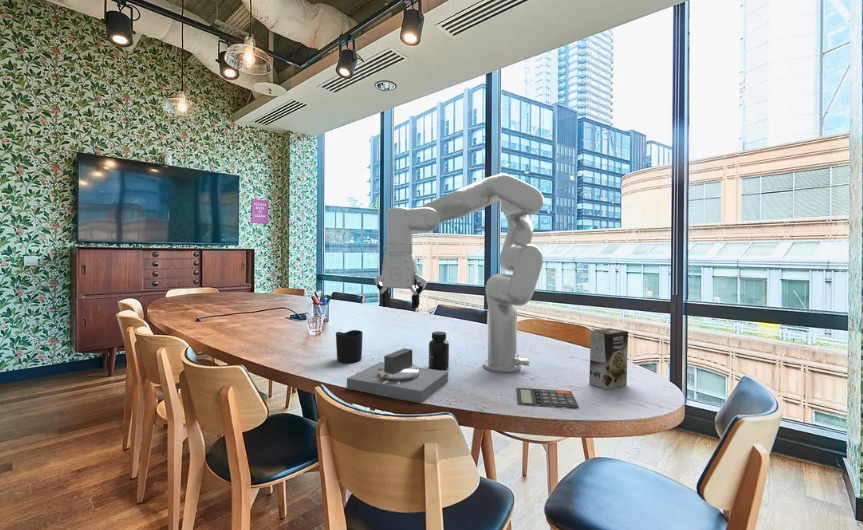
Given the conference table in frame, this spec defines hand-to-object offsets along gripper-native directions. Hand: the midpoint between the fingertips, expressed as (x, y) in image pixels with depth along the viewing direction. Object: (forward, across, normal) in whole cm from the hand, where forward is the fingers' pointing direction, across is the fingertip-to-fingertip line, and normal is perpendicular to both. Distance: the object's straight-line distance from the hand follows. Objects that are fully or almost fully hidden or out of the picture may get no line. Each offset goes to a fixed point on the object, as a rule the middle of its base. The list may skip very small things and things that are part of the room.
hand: (400, 307), depth 119 cm
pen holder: (+23, -28, +13) cm, 39 cm away
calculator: (+24, +41, +5) cm, 48 cm away
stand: (+23, 0, -2) cm, 23 cm away
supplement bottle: (+23, +5, +18) cm, 29 cm away
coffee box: (+24, +57, +24) cm, 66 cm away
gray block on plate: (+19, 0, -4) cm, 20 cm away
